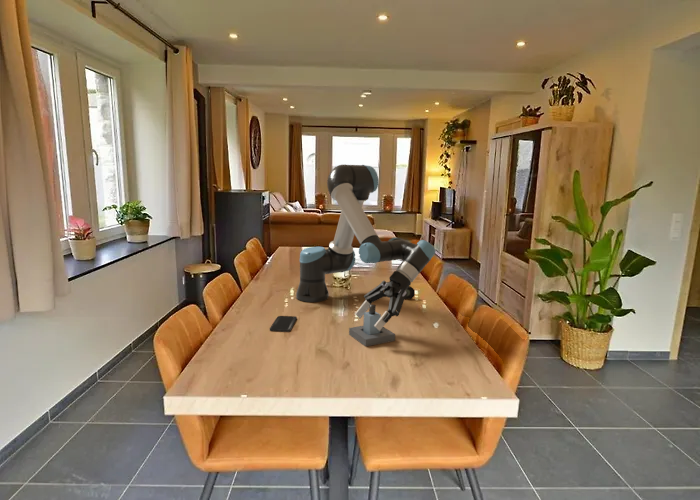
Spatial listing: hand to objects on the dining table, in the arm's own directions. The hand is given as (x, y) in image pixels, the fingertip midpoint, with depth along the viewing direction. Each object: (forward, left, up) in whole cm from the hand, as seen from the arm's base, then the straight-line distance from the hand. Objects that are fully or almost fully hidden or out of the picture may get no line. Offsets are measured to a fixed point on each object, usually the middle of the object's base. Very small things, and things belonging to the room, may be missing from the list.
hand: (366, 322), depth 150 cm
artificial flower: (-44, +43, -7) cm, 62 cm away
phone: (-26, -22, -7) cm, 35 cm away
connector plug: (0, +2, -6) cm, 7 cm away
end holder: (0, +2, -6) cm, 7 cm away
